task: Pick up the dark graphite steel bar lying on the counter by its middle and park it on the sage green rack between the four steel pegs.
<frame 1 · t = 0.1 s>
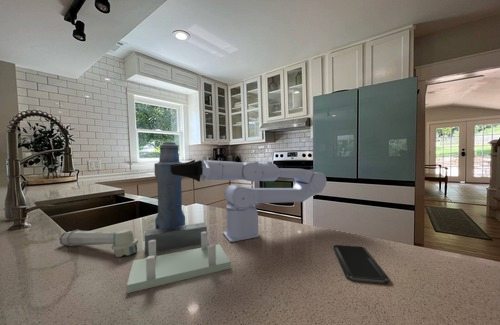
hand: (171, 169, 57), 22 cm above the countertop, tool horizontal, fingers open, 7 cm apart
peg rack: (181, 267, 47), on the countertop
phone: (357, 265, 48), on the countertop
steel bar: (177, 246, 59), on the countertop
bottle: (171, 228, 73), on the countertop
pale grey handled tool: (98, 250, 57), on the countertop
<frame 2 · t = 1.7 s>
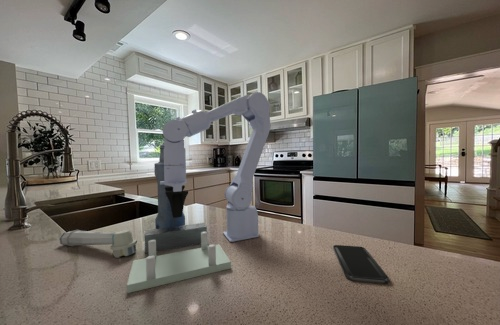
hand: (176, 213, 58), 9 cm above the countertop, tool pointing down, fingers open, 7 cm apart
nothing on the countertop moved.
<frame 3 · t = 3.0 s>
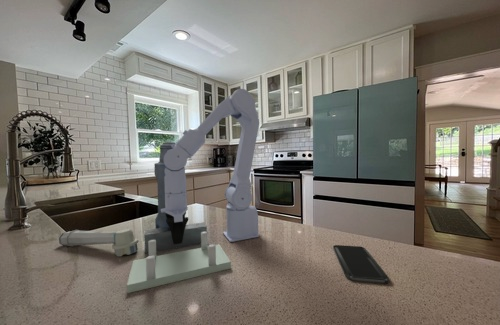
hand: (177, 240, 59), 1 cm above the countertop, tool pointing down, fingers closed on steel bar, 4 cm apart
steel bar: (177, 245, 59), on the countertop, touching gripper
everything else where it was.
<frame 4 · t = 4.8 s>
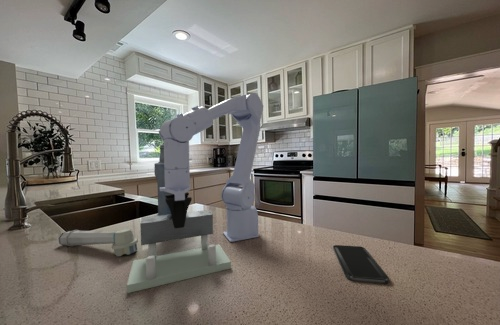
hand: (178, 224, 51), 8 cm above the countertop, tool pointing down, fingers closed on steel bar, 4 cm apart
steel bar: (178, 235, 51), point 6 cm above the countertop, touching gripper
everything else where it was.
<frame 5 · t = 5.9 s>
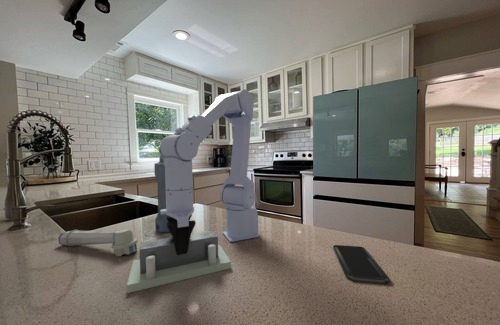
hand: (180, 249, 47), 4 cm above the countertop, tool pointing down, fingers closed on steel bar, 4 cm apart
steel bar: (181, 261, 47), point 1 cm above the countertop, touching gripper, peg rack
everything else where it was.
when the fingers open (4 cm above the countertop, at t = 6.4 s): steel bar stays where it is, resting on peg rack.
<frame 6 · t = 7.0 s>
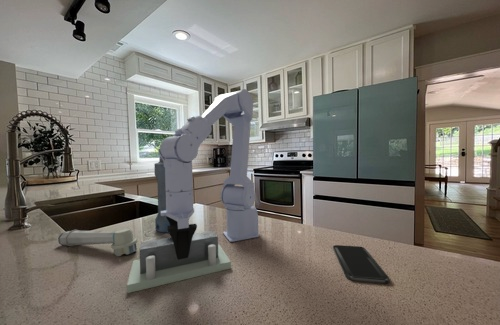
hand: (181, 250, 47), 4 cm above the countertop, tool pointing down, fingers open, 7 cm apart
steel bar: (181, 261, 47), point 1 cm above the countertop, touching peg rack
everything else where it was.
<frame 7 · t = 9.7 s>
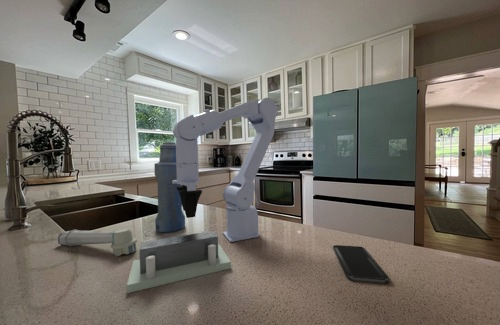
hand: (188, 213, 57), 9 cm above the countertop, tool pointing down, fingers open, 7 cm apart
nothing on the countertop moved.
at the end: steel bar 0.1 cm off-centre on the peg rack, point 1.5 cm above the peg rack's base; the gripper is holding nothing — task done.
